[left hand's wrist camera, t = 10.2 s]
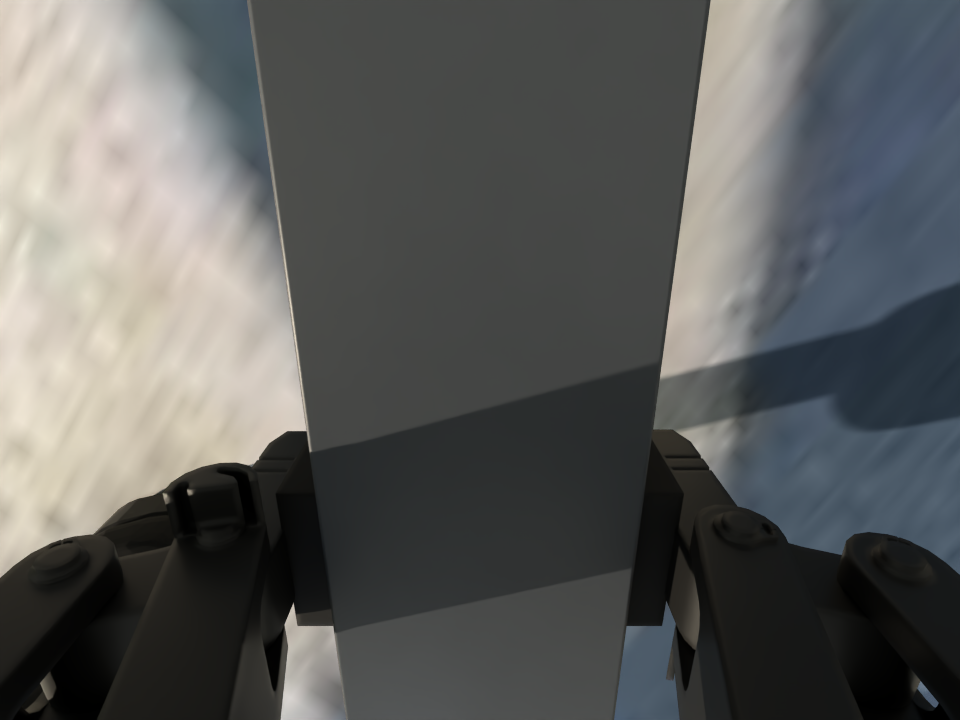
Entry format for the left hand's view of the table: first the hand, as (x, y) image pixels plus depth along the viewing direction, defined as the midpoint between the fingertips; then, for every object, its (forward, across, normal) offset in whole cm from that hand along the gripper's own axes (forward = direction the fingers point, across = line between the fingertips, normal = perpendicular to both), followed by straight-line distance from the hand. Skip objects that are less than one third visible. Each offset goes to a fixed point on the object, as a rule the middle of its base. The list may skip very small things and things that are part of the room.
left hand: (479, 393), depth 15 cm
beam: (+1, 0, -21) cm, 21 cm away
